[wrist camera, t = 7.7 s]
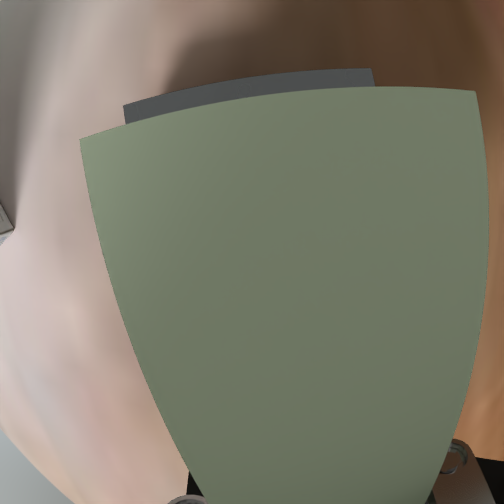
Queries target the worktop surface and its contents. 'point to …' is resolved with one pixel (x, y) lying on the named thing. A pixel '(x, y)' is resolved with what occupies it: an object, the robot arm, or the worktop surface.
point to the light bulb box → (4, 226)
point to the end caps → (247, 90)
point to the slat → (302, 284)
